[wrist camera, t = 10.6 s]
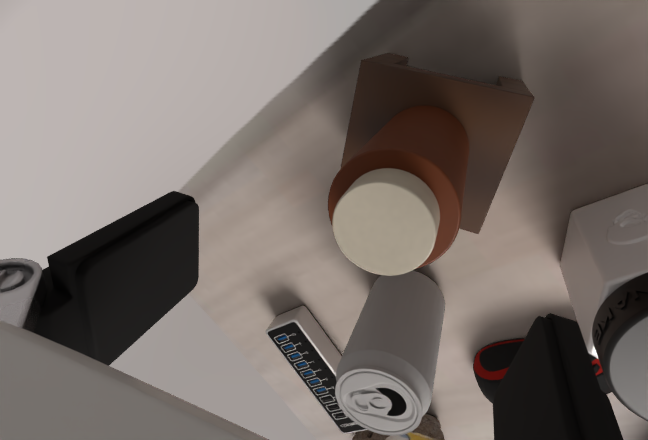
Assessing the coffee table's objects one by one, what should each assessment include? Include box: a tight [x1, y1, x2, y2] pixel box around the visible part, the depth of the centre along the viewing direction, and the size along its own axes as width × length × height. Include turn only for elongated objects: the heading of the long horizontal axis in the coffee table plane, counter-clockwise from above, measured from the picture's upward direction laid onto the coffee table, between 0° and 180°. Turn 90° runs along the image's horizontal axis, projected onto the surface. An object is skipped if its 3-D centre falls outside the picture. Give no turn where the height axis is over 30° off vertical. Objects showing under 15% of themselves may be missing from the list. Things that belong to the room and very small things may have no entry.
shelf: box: [341, 53, 534, 234], centre depth 25 cm, size 8×9×7 cm
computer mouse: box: [473, 338, 612, 403], centre depth 32 cm, size 6×11×4 cm, turn 129°
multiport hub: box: [266, 306, 367, 434], centre depth 41 cm, size 4×14×2 cm, turn 36°
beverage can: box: [335, 270, 445, 436], centre depth 30 cm, size 6×6×12 cm
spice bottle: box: [328, 106, 469, 276], centre depth 18 cm, size 5×5×10 cm
